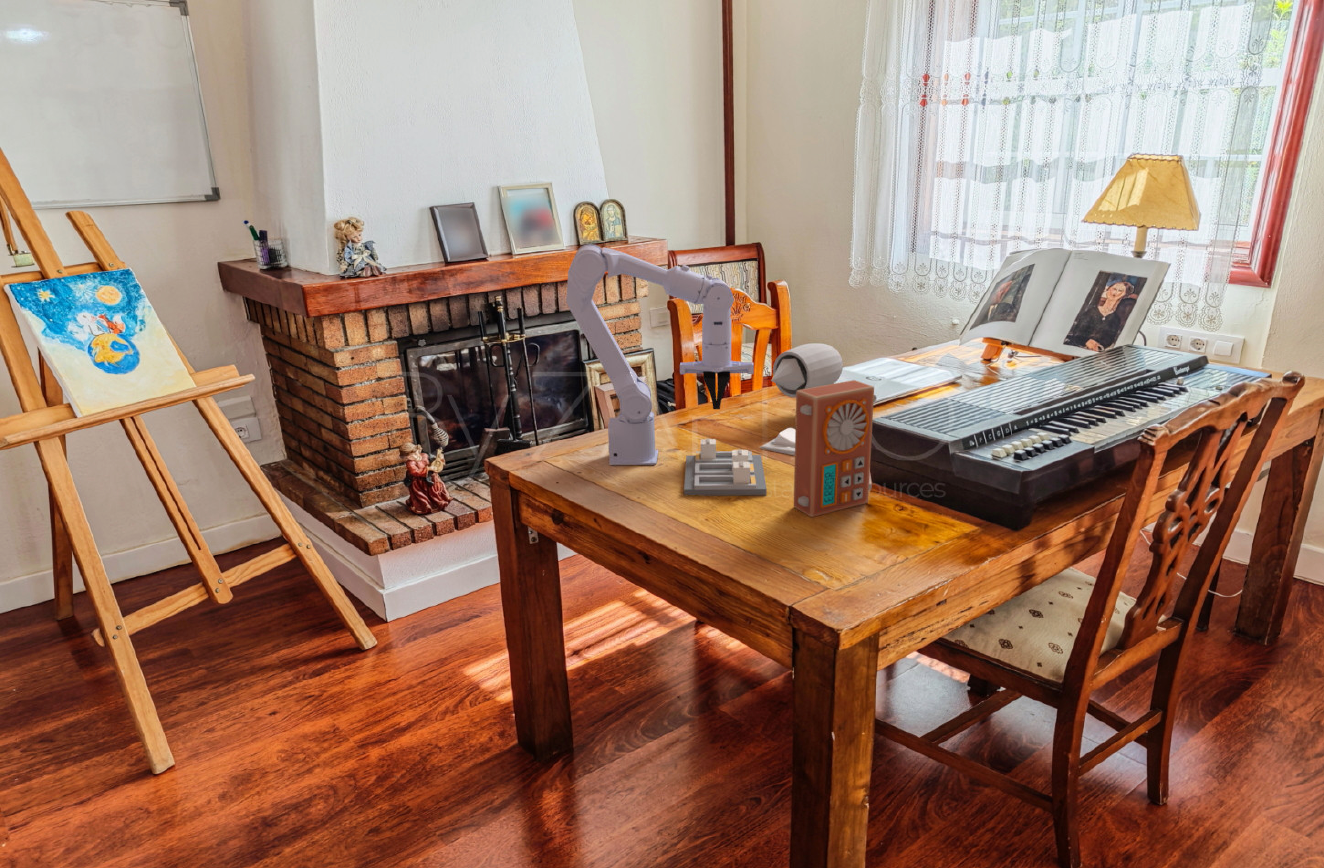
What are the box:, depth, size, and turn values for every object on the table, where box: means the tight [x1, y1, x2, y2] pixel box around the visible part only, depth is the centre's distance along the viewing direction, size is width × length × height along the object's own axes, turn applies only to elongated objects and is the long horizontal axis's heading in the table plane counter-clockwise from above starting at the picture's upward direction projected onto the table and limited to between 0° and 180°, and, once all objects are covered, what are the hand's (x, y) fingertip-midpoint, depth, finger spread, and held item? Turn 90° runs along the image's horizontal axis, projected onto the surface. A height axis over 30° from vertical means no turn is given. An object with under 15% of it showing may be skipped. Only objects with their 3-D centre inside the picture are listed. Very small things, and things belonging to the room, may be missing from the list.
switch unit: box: [683, 450, 768, 496], centre depth 168 cm, size 15×18×2 cm
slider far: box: [700, 437, 717, 459], centre depth 173 cm, size 3×3×4 cm
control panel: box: [793, 379, 877, 518], centre depth 151 cm, size 21×7×15 cm
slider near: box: [733, 461, 750, 484], centre depth 161 cm, size 3×3×4 cm
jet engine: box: [770, 342, 844, 399], centre depth 198 cm, size 15×20×18 cm
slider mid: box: [731, 448, 749, 471], centre depth 167 cm, size 3×3×4 cm
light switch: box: [758, 427, 796, 457], centre depth 184 cm, size 11×4×13 cm
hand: (716, 407), depth 176 cm, fingers closed
